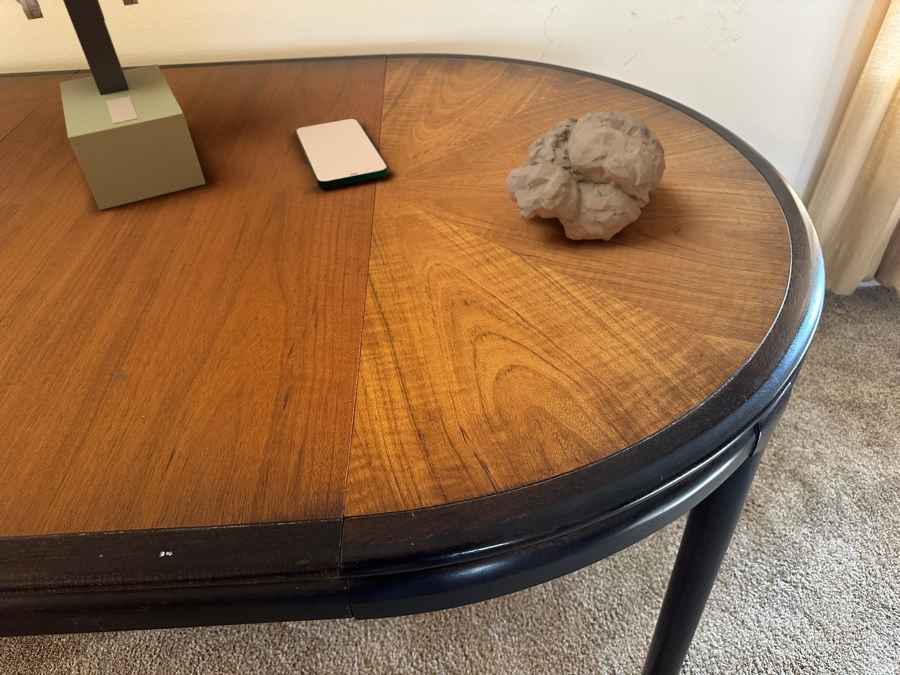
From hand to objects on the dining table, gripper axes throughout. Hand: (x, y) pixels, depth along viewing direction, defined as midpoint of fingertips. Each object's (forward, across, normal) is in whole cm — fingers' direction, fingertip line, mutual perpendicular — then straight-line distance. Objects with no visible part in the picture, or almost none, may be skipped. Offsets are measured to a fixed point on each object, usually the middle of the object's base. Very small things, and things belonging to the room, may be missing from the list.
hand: (83, 8), depth 68 cm
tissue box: (+14, 0, +9) cm, 16 cm away
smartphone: (+21, +21, +2) cm, 30 cm away
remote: (+6, 0, +6) cm, 8 cm away
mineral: (+39, +38, -16) cm, 57 cm away
